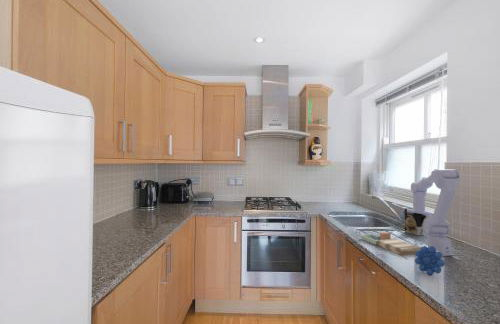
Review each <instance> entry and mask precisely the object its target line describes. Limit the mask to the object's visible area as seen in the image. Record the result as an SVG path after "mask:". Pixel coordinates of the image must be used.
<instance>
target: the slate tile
mask: <svg viewBox="0 0 500 324" xmlns="http://www.w3.org/2000/svg"><path fill="white" fill-rule="evenodd" d="M370 234H371V239H374V240H380V233H370Z"/></svg>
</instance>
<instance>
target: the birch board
mask: <svg viewBox="0 0 500 324" xmlns="http://www.w3.org/2000/svg"><path fill="white" fill-rule="evenodd" d="M377 246H378V247H380V246H381V247H380V248H383V249H386V250H387V251H390V252H392V253H395V254H398V255H400V256H406V255H416V254H415V253H416V251H417V250H420V248H421V247H422V246H417V245H416V244H415V245H414V244H413V243H412V244H411V243H408V242H406V241H402V240H401V239H397V238H394V239H385V240H378V245H377Z"/></svg>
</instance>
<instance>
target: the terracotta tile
mask: <svg viewBox="0 0 500 324" xmlns="http://www.w3.org/2000/svg"><path fill="white" fill-rule="evenodd" d="M379 234H380V240H385V239H391V238H392V237H391V232H388V231H383V232H382V231H381V232H379Z"/></svg>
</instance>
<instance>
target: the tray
mask: <svg viewBox="0 0 500 324" xmlns="http://www.w3.org/2000/svg"><path fill="white" fill-rule="evenodd" d="M371 234H372V233H366V234H360V236H359V237H360V238H361V239H360V240H362V239H363V240H362V241H364V240H365V242H367V241H368V242H367V243H369V242H370V243H369V244H371V243H372V245H374V246H378V240H374V239H371ZM391 239H395V238H394V237H391Z"/></svg>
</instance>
